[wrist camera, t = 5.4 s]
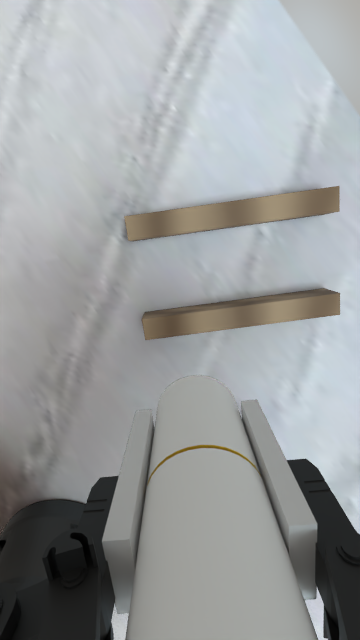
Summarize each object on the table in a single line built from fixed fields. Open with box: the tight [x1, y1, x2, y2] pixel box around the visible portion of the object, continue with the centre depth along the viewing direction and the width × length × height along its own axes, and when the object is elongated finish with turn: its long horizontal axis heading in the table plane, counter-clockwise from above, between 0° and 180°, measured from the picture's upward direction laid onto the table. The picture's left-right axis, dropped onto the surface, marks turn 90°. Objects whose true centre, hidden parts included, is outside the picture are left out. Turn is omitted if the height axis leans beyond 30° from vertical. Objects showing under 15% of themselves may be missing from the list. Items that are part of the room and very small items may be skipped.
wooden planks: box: [124, 186, 340, 340], centre depth 28 cm, size 18×11×3 cm, turn 98°
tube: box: [125, 375, 318, 640], centre depth 9 cm, size 4×4×15 cm
